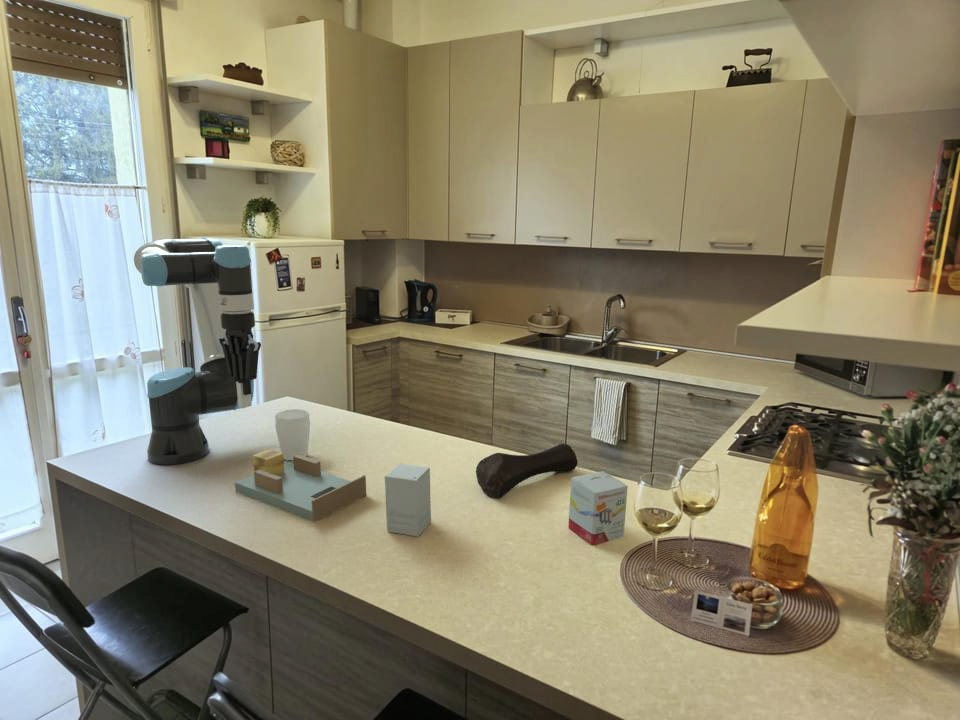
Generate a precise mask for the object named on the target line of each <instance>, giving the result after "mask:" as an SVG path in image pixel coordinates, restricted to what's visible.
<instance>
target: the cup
mask: <svg viewBox="0 0 960 720" xmlns="http://www.w3.org/2000/svg"><path fill="white" fill-rule="evenodd" d="M274 417H275V419H274V420H275V421H274V422H275V425H274V426H275V432H276V435H277V441H278V445H279V449H280V453H283V457H284V460H285V461H289V460H290V462H293V456H295V455H301V456H304V457H307V456H308V455H309V453H308V452H309V443H310V431H311V430H310V429H311V421H310V420H311V419H310V418H311V417H310V413H309V411H308V410H304V409H288V410H287V409H285V410H282V411H280V412H277V413H276V414H275V416H274Z"/></svg>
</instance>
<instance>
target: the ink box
mask: <svg viewBox="0 0 960 720" xmlns="http://www.w3.org/2000/svg"><path fill="white" fill-rule="evenodd" d="M628 487H629V486H628V485H627V484H625V483H624V482H622V481H621V480H619V479H617V478H615V477H614V476H612V475H610V474H609V473H607V472H605V471H603V470H601V471H596V472H592V473H586V474H582V475H577V476H572V477H571V479H570V492H569V493H570V494H569V495H570V496H569V510H568V511H569V512H568V527H567V528H568V529H569V530H570V531H571V532H572V533H573V534H575V535H577V537H579V538H581V539H582V540H583V541H584V542H586V543H588V544H589V545H590V546H592V547H594V546H597V545H600V544H604V543H606V542H610V541H614V540H616V539H620V538H624V536H625V525H626V523H625V522H626V513H627V498H628Z"/></svg>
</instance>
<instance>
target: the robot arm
mask: <svg viewBox="0 0 960 720" xmlns="http://www.w3.org/2000/svg"><path fill="white" fill-rule="evenodd" d="M250 256H251V255H250V250H249V248H248V246H246V245H243V244H242V245H240V244H226V245H224V244H223V242H222V241H220V240H219V239H216V238H208V237H202V238H162V239H156V240H153V241H150V242H147V243H145V244H143V245H141V246H140V247H139V248H138V249H137V250H136V251H135V253H134V255H133V262H134V267H135V269H136V270H137V271H138V272H139V273H140V274H141V279H142V283H143V285H145V286H147V287H163V286H179V285H184V286H185V287H186V288H187V289H190V293H191V297H192V304H193V308H194V314H195V317H196V318H195V319H196V323H197V329H198V334H199V340H200V344H201V349H202V353H203V360H204V361H203V362H202V363H201V365H199V369H200V370H199V371H198V372H197V371H195V369H194V368H193V367H189V366H185V367H176V368H175V367H174V368H170V369H167V370H162V371H160V372H157V373H156V374H153V375H152V376H150V377H149V379H148V380H147V382H146V387H147V394H146V396H147V398H148V406H149V414H150V415H149V416H150V424H151V434H150V438H149V442H148V445H147V451H146V453H147V460H148V461H149V462H150V463H152V464H155V465H165V466H166V465H167V466H169V465H178V464H179V465H180V464H184V463H185V464H186V463H189V462H193V461H195V460H199V459H201V458H203V457H204V456H206V455H207V454H208V453H209V452H210V448H209V447H210V445H209V442H208V439H207V437H206V435H205V433H204V432H203V428H202V427H201V425H200V415H209V414H214V413H221V412H228V411H237V410H240V409H245V408H249V407H252V404H253V403H252V402H253V399H254V390H255V389H254V388H255V386H254V385H255V383H254V382H255V381H254V380H256V379H257V377H258V365H259V353H260V349H261V347H262V343H261V341H256V340H255V339H254V334H253V331H252V330H253V328H254V327H255V326H256V321H255V319H256V318H255V312H253V310H254V309H255V304H254V302H255V301H254V293H253V284H252V283H253V282H252V269H251V268H252V266H251V263H252V259H251V257H250Z"/></svg>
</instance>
